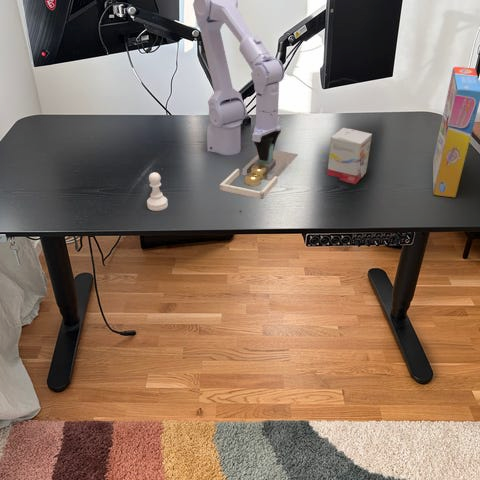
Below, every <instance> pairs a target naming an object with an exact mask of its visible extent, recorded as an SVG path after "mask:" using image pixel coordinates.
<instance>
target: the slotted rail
mask: <svg viewBox="0 0 480 480" xmlns="http://www.w3.org/2000/svg"><path fill="white" fill-rule="evenodd" d="M298 156H299V154H298V153H294V152H287V151H281V150H276V149H274V151H273V159H275V160H276V165H275V166H274V167H273V168H272V169H271V170H270V172H269V173H268V174H266V177H265V178H264V179H263V180H266V181H269V182H270V181H271V180H272V179H273V178H274V177H275V176H277V177H278V178H279V177H280V176H281V175H282V173H283V172H284V171H285V170H286V169H287V168H288V167H289V166H290V164H291V163H293V161H294V160H295V159H296V158H297V157H298ZM258 159H259V156H258V154H256V155H255V156H254V158H252V159H251V160H250V162H248V163H247V164H245V166H244V167H243V168H242V172H240V175H241V176H245V175H246V174H248V173H251V167H252V166H254V163H255V162H256V161H257V160H258ZM240 175H239V176H240Z"/></svg>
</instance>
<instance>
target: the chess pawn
mask: <svg viewBox="0 0 480 480" xmlns="http://www.w3.org/2000/svg"><path fill="white" fill-rule="evenodd" d="M161 179H162V177H161V175H160V174H159V173H158V172H155V171H154V172H151V173H150V174H149V176H148V180H149V185H148V186H150V188H152V191H151V193H150V197H148V199H147V200H146V205H147V208H148V210H150V211H154V212H157V211H158V212H159V211H163V210H166V209H167V208H168V205H169V204H168V198H167V197H166V196H165V195H163V192H162V191H161V190H160V187H161V186H162V183H161Z"/></svg>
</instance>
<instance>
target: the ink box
mask: <svg viewBox="0 0 480 480" xmlns="http://www.w3.org/2000/svg"><path fill="white" fill-rule="evenodd" d="M372 135H373V133H369V132H365V131H361V130H358V129H357V130H356V129H353V128H347V127H342V128H341V129H339V130H338V131H337V132H336V133H334V134H333V135H331V136H330V146H329V155H328V165H327V172H326V173H327V175H329V176H332V177H336V178H338V179H337V181H339V182H344V183H347V184H348V183H349V184H351V185H356V184H357V183H358V182H359V181H360V180H361V179H362V178H363V177H364V175H365V174H366V173H367V168H368V163H369V155H370V149H371V143H372Z"/></svg>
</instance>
